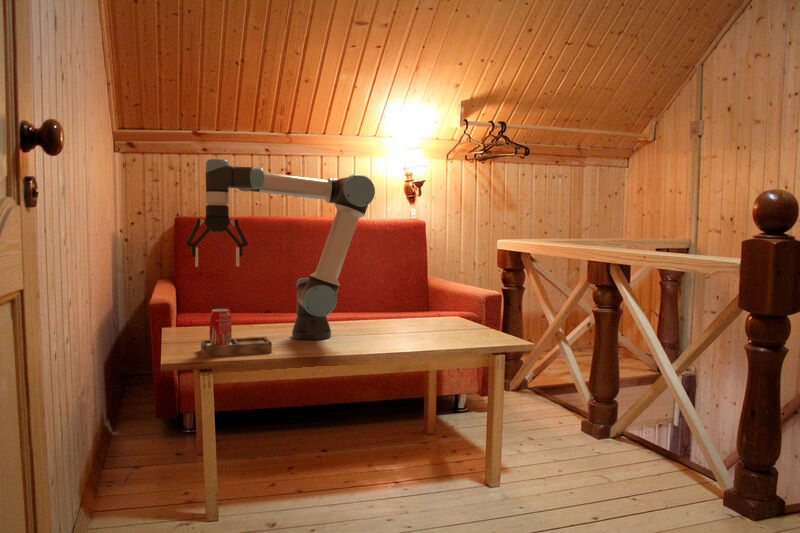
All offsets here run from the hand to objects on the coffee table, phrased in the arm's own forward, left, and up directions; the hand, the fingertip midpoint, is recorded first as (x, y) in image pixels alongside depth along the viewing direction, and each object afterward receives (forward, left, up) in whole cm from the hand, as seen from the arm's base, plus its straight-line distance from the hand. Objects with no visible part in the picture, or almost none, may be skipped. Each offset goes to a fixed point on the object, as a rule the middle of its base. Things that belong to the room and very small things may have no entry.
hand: (217, 266), depth 196 cm
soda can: (0, +8, -26) cm, 27 cm away
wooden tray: (-5, +8, -29) cm, 30 cm away
